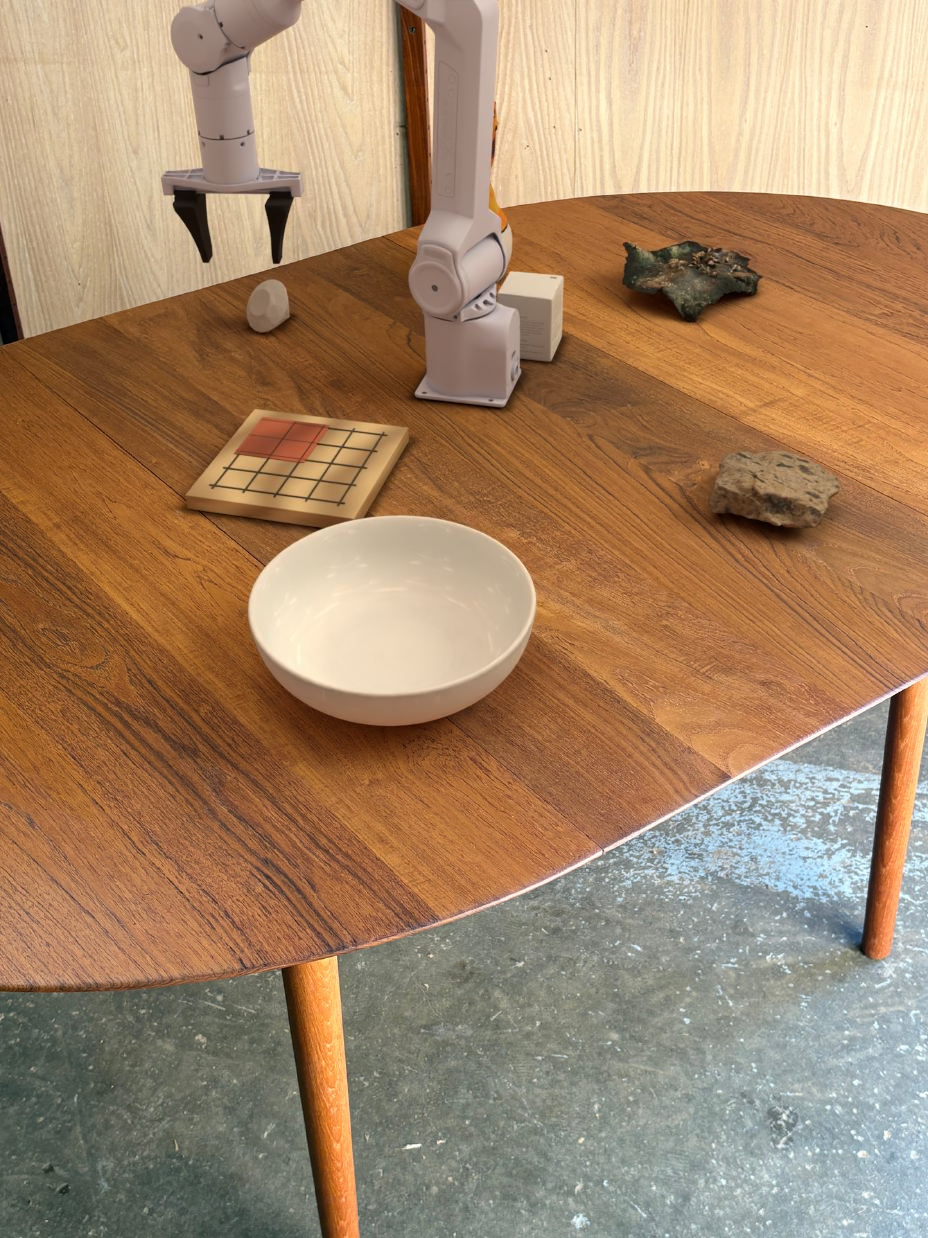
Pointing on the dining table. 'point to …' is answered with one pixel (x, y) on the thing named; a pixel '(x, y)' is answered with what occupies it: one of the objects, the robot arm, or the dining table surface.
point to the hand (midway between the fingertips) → (242, 259)
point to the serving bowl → (392, 618)
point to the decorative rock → (688, 274)
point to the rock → (773, 488)
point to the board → (299, 469)
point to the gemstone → (268, 306)
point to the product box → (535, 311)
